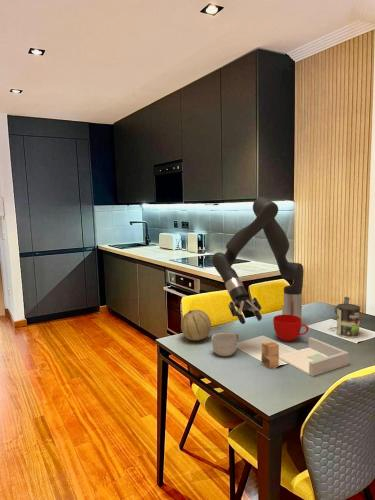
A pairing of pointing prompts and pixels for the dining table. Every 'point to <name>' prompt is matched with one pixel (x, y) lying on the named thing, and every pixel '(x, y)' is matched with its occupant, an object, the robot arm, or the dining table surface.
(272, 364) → the wood block
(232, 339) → the teacup
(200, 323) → the cantaloupe
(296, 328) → the ceramic cup
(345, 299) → the mortar and pestle
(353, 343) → the dining table surface
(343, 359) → the platform
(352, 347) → the dining table surface
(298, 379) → the dining table surface
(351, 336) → the coffee can
